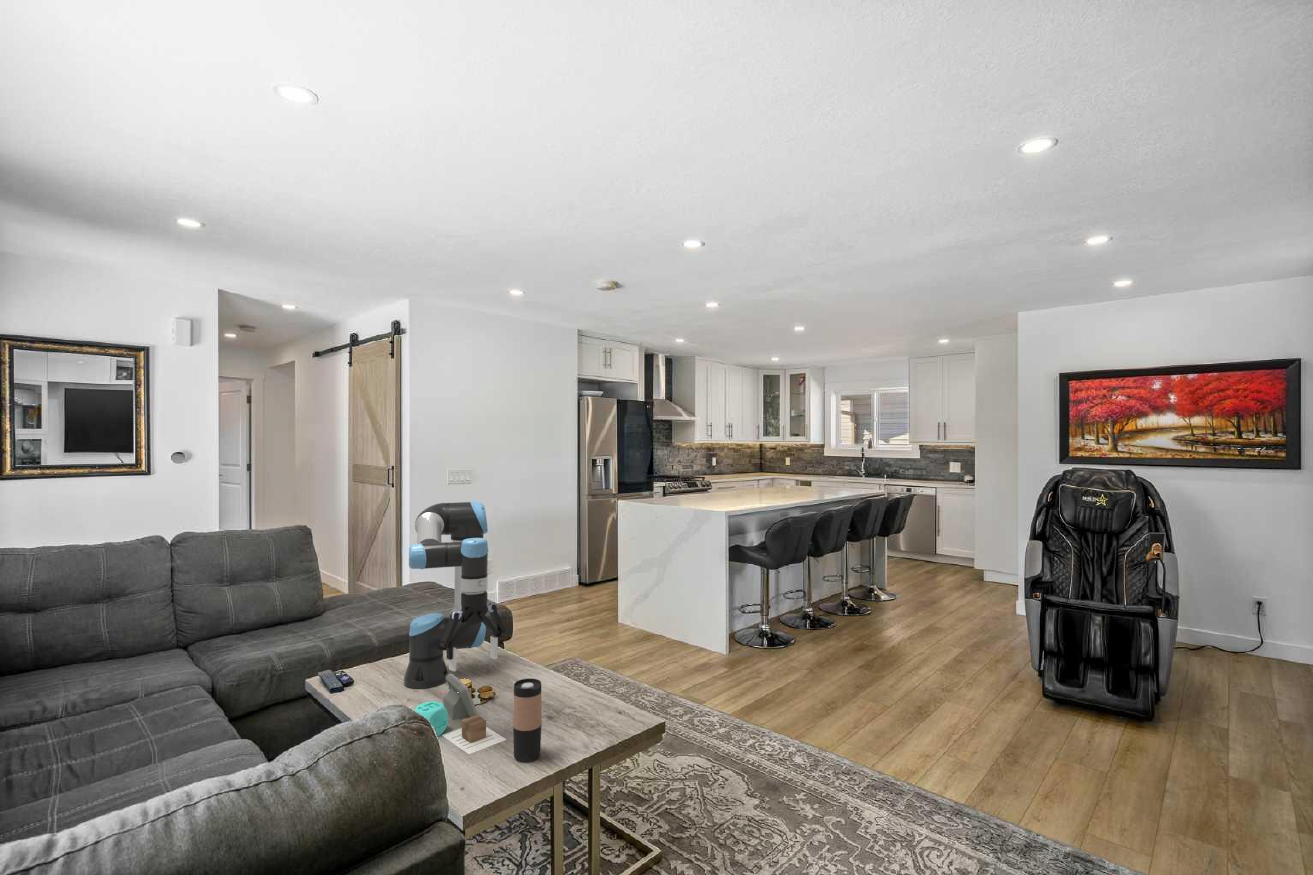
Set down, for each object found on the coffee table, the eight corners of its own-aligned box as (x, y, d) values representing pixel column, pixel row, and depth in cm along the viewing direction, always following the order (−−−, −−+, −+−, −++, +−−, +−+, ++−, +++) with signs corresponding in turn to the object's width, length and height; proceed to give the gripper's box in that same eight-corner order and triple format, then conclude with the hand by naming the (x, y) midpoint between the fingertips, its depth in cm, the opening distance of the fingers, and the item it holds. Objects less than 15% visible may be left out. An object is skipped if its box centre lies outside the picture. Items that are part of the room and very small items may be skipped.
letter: (441, 735, 181) (441, 734, 181) (478, 722, 190) (478, 721, 190) (468, 754, 170) (468, 753, 170) (506, 740, 179) (506, 739, 179)
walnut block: (461, 737, 180) (461, 719, 180) (477, 731, 184) (477, 714, 184) (470, 742, 177) (470, 725, 177) (486, 737, 180) (486, 719, 180)
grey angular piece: (478, 719, 192) (478, 685, 192) (448, 725, 188) (448, 690, 188) (470, 700, 207) (470, 668, 207) (442, 705, 203) (442, 672, 203)
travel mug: (515, 749, 173) (515, 678, 174) (542, 748, 174) (543, 677, 174) (511, 763, 166) (511, 689, 166) (539, 762, 166) (540, 688, 167)
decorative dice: (448, 731, 184) (449, 705, 184) (426, 742, 177) (426, 714, 177) (431, 725, 188) (431, 699, 188) (408, 735, 182) (408, 708, 182)
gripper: (441, 601, 169) (440, 678, 169) (517, 586, 188) (516, 656, 187) (428, 596, 175) (427, 672, 174) (503, 583, 193) (502, 651, 192)
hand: (473, 664), depth 181 cm, fingers open, 13 cm apart
